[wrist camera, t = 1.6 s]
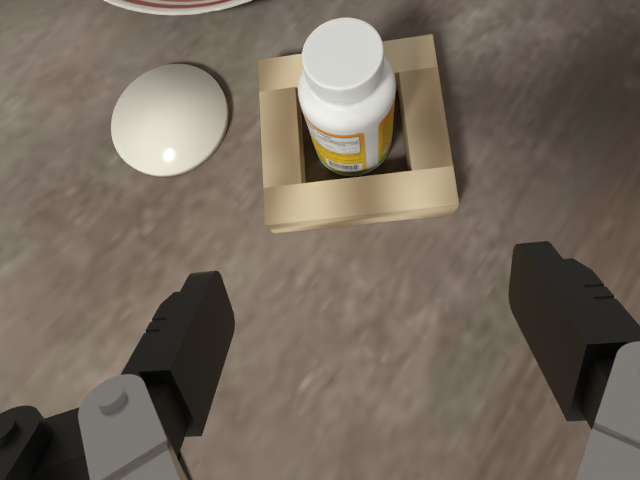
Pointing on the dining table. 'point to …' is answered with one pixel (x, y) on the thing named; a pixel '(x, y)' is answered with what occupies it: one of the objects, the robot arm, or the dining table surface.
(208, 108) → the pale ceramic coaster
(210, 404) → the robot arm
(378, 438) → the dining table surface
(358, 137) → the supplement bottle
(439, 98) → the birch pocket block
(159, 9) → the dinner plate
